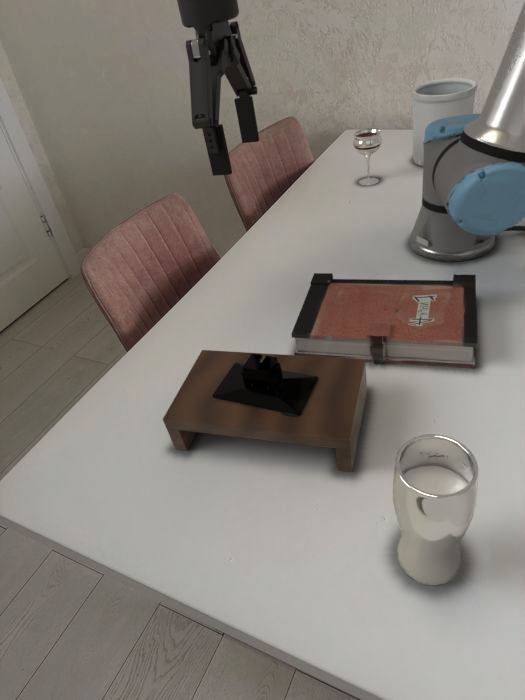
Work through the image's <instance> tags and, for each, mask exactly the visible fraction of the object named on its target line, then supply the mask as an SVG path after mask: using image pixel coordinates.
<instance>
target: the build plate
mask: <svg viewBox="0 0 525 700" xmlns="http://www.w3.org/2000/svg"><path fill="white" fill-rule="evenodd" d="M250 353H251V355H250V356H249V358H248V359H247V361H246V362H245V364H243V363H237V362H236V363H234V365H233V366H232V368H231V369H230V371H229V372H228V373H227V375H226V376H225V378H224V379H223V381H222V382H221V384H220V385H219V387H218V388H217V389H216V391H215V392H214V394H213V395H212V396H213V398H214V399H219V400H223V401H228V402H233V403H237V404H242V405H247V406H252V407H256V408H261V409H266V410H271V411H275V412H280V413H281V414H282V415H286V416H291V417H297V416H300V415H301V413H302V411H303V409H304V407H305V405H306V403H307V401H308V399H309V397H310V395H311V393H312V391H313V389H314V387H315V385H316V383H317V381H318V377H317V376H312V375H306V374H301V373H295V372H289V371H283V370H282V369H281V365H280V363H278V360H277V357H273V356H265V358H264V360H263V361H262V362H260V361H261V359H262V358H263V357H262V355H260V354H254V353H255V352H250Z"/></svg>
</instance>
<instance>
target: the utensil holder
mask: <svg viewBox="0 0 525 700" xmlns="http://www.w3.org/2000/svg"><path fill="white" fill-rule="evenodd" d="M477 89H478V81H477V80H475V79H472V78H466V77H445V78H438V79H433V80H428V81H424V82H423V83H420V84H417V85H416V86H414V87H413V88H412V90H411V91H412V93H411V96H412V98H413V99H412V100H413V102H412V161H413V163H414V164H416V165H418V166H420V167H423V157H424V145H423V141H424V136H425V129H426V127H427V126H428V125H429V124H430V123H431V122H433V121H436V120H439V119H442V118H447V117H452V116H458V115H466V114H474V107H475V97H476V92H477Z"/></svg>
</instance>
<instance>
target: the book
mask: <svg viewBox="0 0 525 700" xmlns="http://www.w3.org/2000/svg"><path fill="white" fill-rule="evenodd" d="M452 278H453V279H452V280H446V279H445V280H443V279H442V280H439V279H437V280H436V279H435V280H434V279H366V278H365V279H360V278H334V275H333V272H331V273H330V272H329V273H328V272H323V273H321V272H314V273H313V275H312V278H311V280H310V282H309V283H310V285H309V288H308V291H307V294H306V296H305V299H304V301H303V303H302V306H301V307H300V308H301V309H300V311H299V314H298V316H297V319H296V321H295V324H294V326H293V329H292V331H291V334H290V335H291V338H292V339H293V338H294V339H295V345H296V347H295V349H294V354H293V355H298V356H315V357H332V358H349V359H365V361H366V362H371V363H373V364H374V365H384V363H385V364H386V363H387V364H401V365H417V366H433V367H445V368H446V367H448V368H462V369H475V368H476V353H475V352H476V348H478V346H479V337H478V336H479V335H478V333H479V332H478V313H477V311H478V310H477V309H478V308H477V275H476V274H453V277H452Z"/></svg>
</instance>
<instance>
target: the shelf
mask: <svg viewBox="0 0 525 700" xmlns="http://www.w3.org/2000/svg"><path fill="white" fill-rule="evenodd" d="M251 353H252V352H247V351H246V352H245V351H227V350H211V349H202V350H201V351H200V353H199V355H198V356H197V358H196V359H195V362H194V363H193V365H192V367H191V369H190V371H189V372H188V374H187V375H186V377H185V379H184V381H183V383H182V385H181V386H180V387H179V389H178V392H177V393H176V394H175V397H174V398H173V400H172V402H171V404H170V405H169V407H168V409H167V411H166V413H165V414H164V416H163V418H162V422H163V424H164V427H165V428H166V431H167V434H168V436H169V437H170V440H171V442H172V444H173V447H174V449H175V450H179V451H188V450H189V448H190V446H191V443H192V441H193V439H194V437H195V435H196V433H202V434H210V435H211V434H212V435H217V436H218V435H219V436H226V437H227V436H229V437H235V438H237V437H238V438H244V439H245V438H246V439H252V440H253V439H254V440H262V441H270V442H279V443H288V444H294V445H295V444H296V445H304V446H305V445H306V446H313V447H323V448H330V449H335V458H336V467H337V471H340V472H346V473H347V472H348V473H353V471H354V465H355V461H356V454H357V449H358V443H359V437H360V432H361V427H362V422H363V415H364V410H365V405H366V399H367V393H368V385H367V382H368V381H367V363H366V362H367V361H365V359H349V358H332V357H315V356H298V355H295V354H279V353H278V354H277V353H263V352H262V353H261V352H253V353H254V354H260V355H262V357H263V358H262V359H261V361H260V362H262V361H263V360H264V358H265V356H273V357H277V360H278V363H280V365H281V369H282V370H283V371H289V372H295V373H301V374H306V375H312V376H317V377H318V381H317V383H316V385H315V387H314V389H313V391H312V393H311V395H310V397H309V399H308V401H307V403H306V405H305V407H304V409H303V411H302V413H301V415H300V416H297V417H291V416H286V415H282V414H281V413H280V412H275V411H271V410H266V409H261V408H256V407H252V406H247V405H242V404H237V403H233V402H228V401H223V400H219V399H214V398H213V396H212V395H213V394H214V392H215V391H216V389H217V388H218V387H219V385H220V384H221V382H222V381H223V379H224V378H225V376H226V375H227V373H228V372H229V371H230V369H231V368H232V366H233V365H234V363H236V362H237V363H243V364H245V362H246V361H247V359H248V358H249V356H250V355H251Z"/></svg>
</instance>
